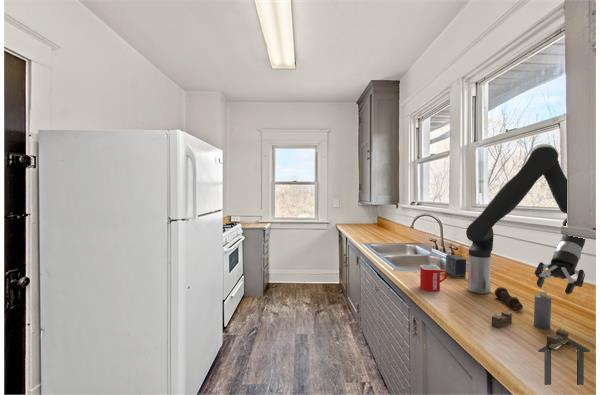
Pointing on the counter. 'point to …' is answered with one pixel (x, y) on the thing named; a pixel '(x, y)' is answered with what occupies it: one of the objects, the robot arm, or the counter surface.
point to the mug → (431, 277)
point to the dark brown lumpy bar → (508, 298)
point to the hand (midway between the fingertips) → (552, 289)
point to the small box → (456, 266)
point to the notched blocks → (506, 319)
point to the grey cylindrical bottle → (542, 311)
